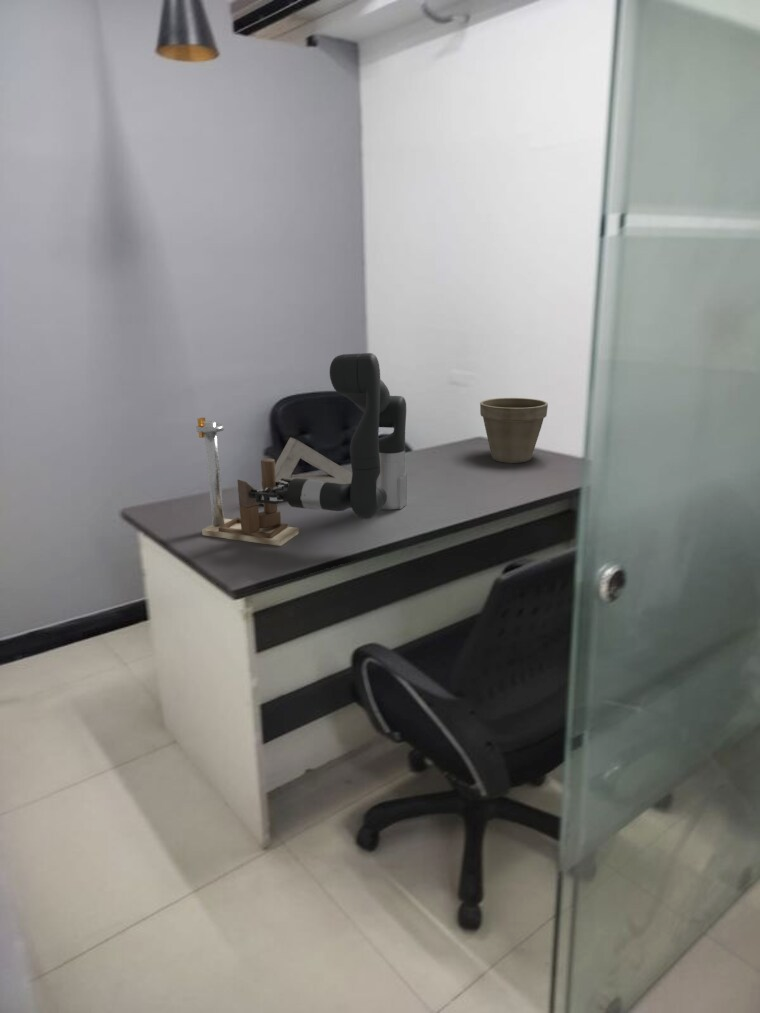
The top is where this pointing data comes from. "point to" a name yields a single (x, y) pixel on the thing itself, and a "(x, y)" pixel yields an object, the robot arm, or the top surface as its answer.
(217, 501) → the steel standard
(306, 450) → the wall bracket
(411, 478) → the top surface
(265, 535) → the seat board
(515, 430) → the plant pot
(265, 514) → the wooden block
